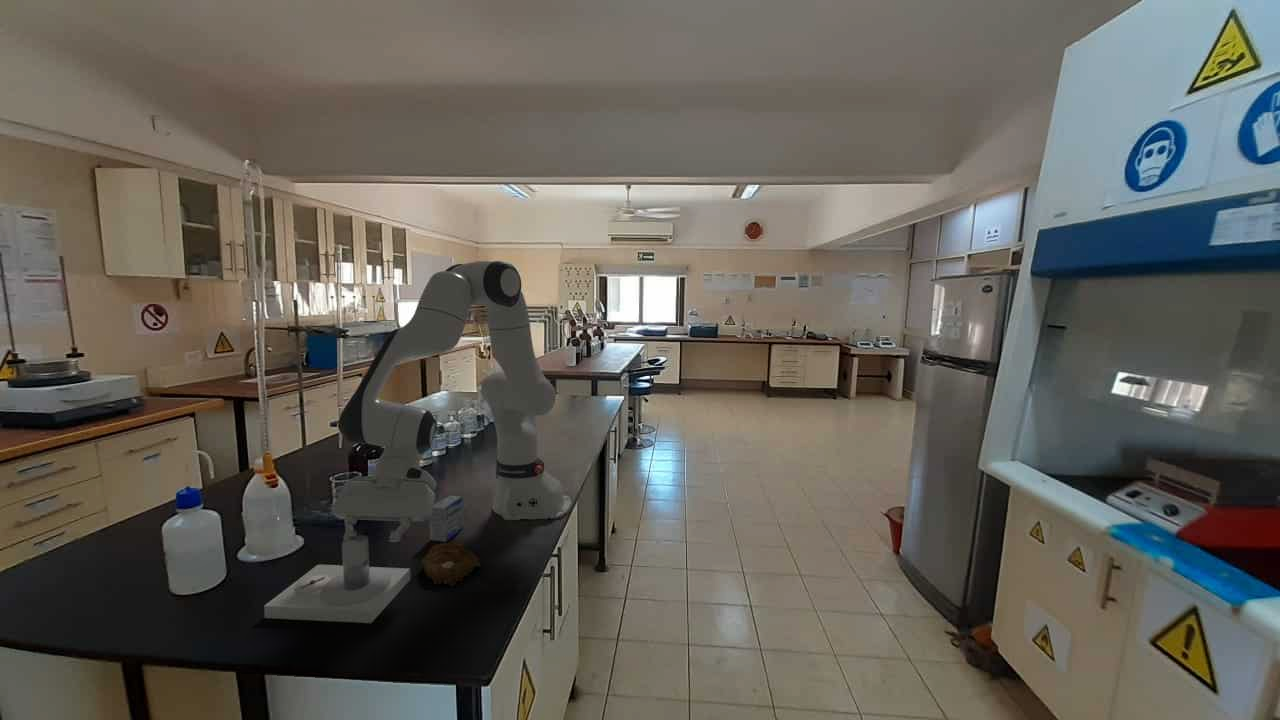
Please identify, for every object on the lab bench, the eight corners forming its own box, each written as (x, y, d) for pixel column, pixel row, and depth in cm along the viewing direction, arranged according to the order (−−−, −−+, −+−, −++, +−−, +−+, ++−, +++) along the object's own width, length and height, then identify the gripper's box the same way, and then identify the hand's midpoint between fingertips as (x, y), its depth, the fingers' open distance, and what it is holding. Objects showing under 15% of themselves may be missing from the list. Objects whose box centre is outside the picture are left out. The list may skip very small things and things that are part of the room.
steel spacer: (374, 577, 96) (372, 535, 94) (361, 590, 91) (359, 546, 90) (353, 576, 96) (351, 534, 95) (338, 589, 91) (336, 545, 90)
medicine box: (445, 542, 116) (444, 509, 115) (429, 540, 117) (428, 507, 116) (463, 528, 124) (463, 496, 123) (448, 526, 125) (447, 494, 124)
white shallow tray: (410, 579, 100) (410, 565, 100) (371, 623, 87) (370, 607, 86) (318, 575, 101) (317, 561, 101) (264, 617, 87) (263, 602, 87)
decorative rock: (412, 564, 108) (434, 597, 96) (411, 547, 107) (433, 579, 96) (462, 545, 115) (488, 575, 104) (461, 530, 114) (487, 558, 103)
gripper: (341, 469, 103) (312, 534, 95) (434, 472, 103) (413, 537, 94) (355, 481, 108) (329, 543, 100) (443, 484, 108) (424, 546, 99)
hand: (370, 540), depth 97 cm, fingers open, 8 cm apart
